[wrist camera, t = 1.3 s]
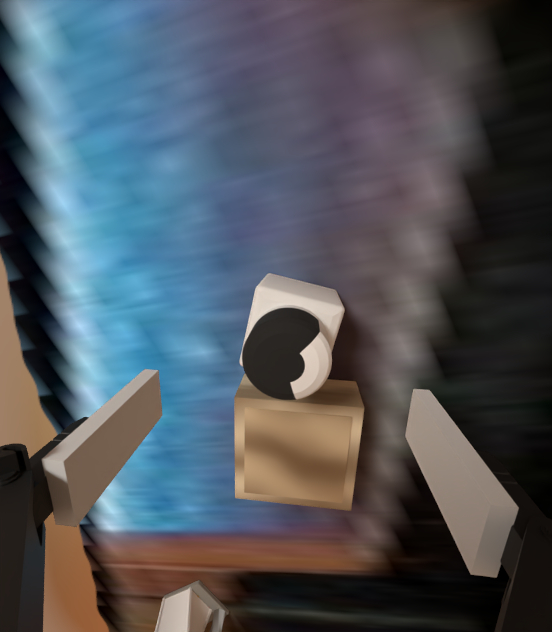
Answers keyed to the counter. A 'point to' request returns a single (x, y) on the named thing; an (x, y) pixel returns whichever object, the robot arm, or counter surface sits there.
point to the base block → (298, 445)
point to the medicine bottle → (290, 337)
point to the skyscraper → (191, 610)
